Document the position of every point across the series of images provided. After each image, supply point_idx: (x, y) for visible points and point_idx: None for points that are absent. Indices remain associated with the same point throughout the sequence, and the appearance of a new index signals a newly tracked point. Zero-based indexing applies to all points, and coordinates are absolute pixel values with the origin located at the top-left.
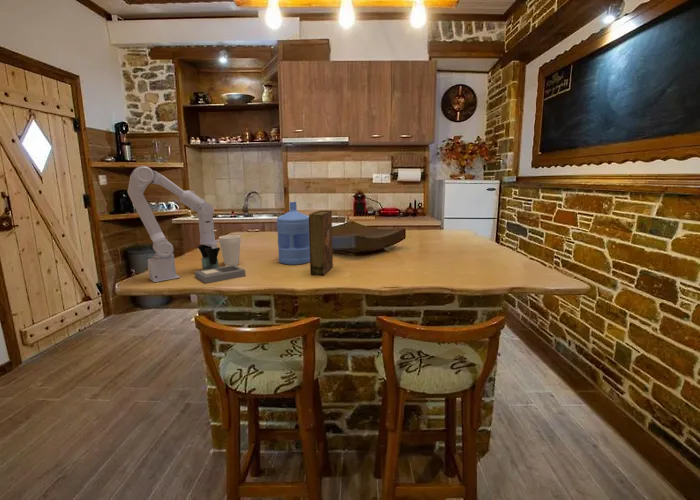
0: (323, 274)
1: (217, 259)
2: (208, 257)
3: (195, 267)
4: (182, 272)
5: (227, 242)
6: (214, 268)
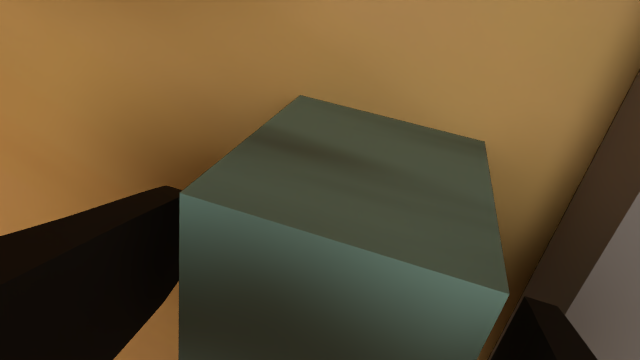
0: None
1: (505, 272)
2: (233, 324)
3: (42, 165)
4: (166, 341)
5: None
6: (601, 337)
